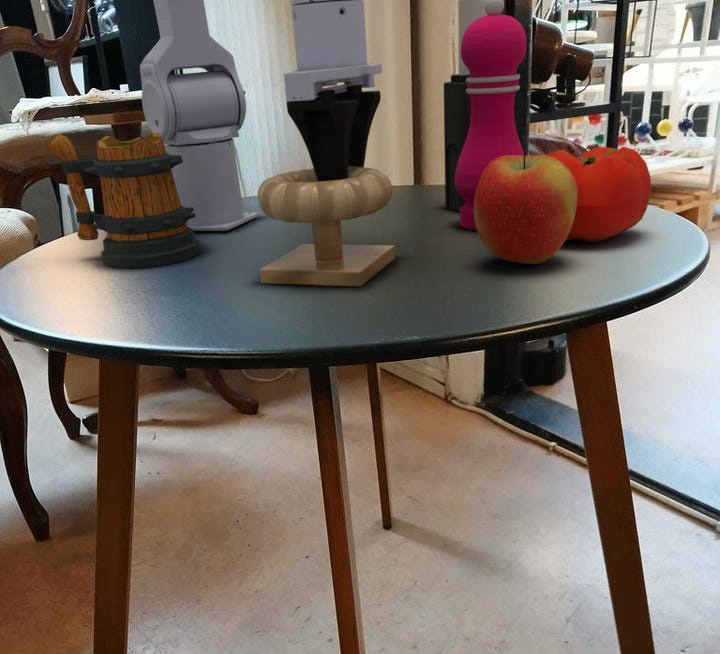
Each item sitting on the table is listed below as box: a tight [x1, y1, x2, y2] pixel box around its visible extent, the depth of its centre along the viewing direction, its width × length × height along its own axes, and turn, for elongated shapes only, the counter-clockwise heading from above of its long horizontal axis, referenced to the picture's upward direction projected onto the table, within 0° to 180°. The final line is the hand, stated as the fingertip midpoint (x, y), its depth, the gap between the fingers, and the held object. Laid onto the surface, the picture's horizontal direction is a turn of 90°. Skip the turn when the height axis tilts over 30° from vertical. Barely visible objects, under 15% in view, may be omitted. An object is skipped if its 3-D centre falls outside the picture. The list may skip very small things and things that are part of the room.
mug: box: [48, 132, 201, 269], centre depth 74 cm, size 13×10×12 cm
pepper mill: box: [455, 0, 528, 231], centre depth 74 cm, size 7×7×20 cm
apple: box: [474, 134, 577, 265], centre depth 62 cm, size 8×8×10 cm
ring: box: [257, 166, 393, 224], centre depth 64 cm, size 11×11×3 cm
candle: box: [443, 0, 487, 213], centre depth 81 cm, size 5×5×25 cm
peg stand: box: [259, 221, 396, 288], centre depth 65 cm, size 9×9×7 cm
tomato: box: [546, 145, 652, 243], centre depth 70 cm, size 11×11×8 cm
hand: (341, 186), depth 67 cm, fingers closed on ring, 3 cm apart
